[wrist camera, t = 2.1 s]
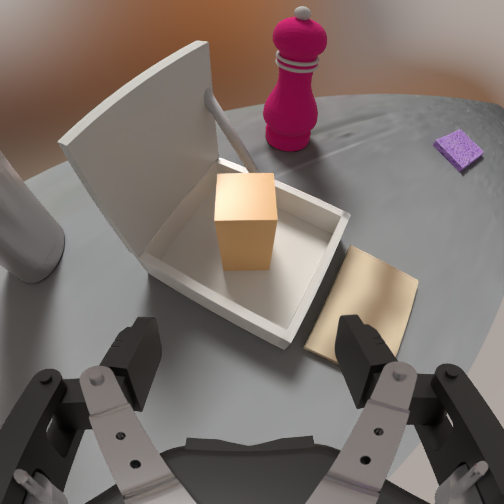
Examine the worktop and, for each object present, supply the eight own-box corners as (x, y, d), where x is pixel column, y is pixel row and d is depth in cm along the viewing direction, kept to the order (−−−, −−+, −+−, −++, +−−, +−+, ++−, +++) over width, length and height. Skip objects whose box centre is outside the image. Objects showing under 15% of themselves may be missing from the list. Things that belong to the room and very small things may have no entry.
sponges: (431, 146, 41) (435, 139, 39) (457, 133, 44) (460, 127, 42) (458, 174, 38) (463, 168, 37) (480, 157, 42) (484, 151, 40)
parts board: (303, 348, 26) (305, 346, 25) (348, 249, 31) (350, 245, 30) (381, 383, 24) (385, 383, 23) (414, 283, 29) (418, 280, 28)
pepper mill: (312, 126, 40) (335, 6, 22) (311, 158, 37) (340, 20, 19) (265, 119, 41) (272, -3, 23) (258, 150, 38) (264, 9, 20)
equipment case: (143, 270, 29) (57, 141, 13) (213, 179, 35) (196, 40, 19) (284, 350, 26) (348, 276, 10) (339, 236, 32) (403, 99, 15)
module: (223, 270, 29) (214, 220, 20) (224, 231, 31) (217, 173, 23) (269, 270, 29) (277, 219, 21) (267, 230, 31) (273, 173, 23)
